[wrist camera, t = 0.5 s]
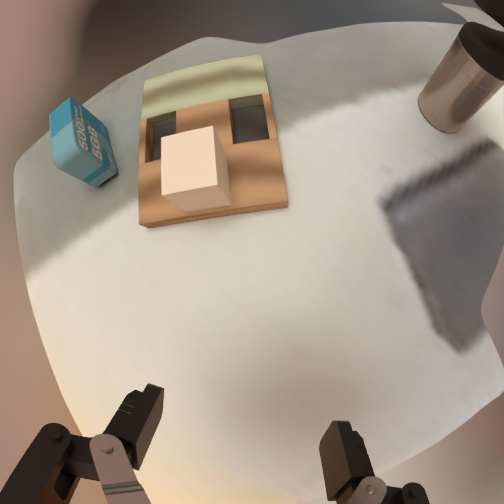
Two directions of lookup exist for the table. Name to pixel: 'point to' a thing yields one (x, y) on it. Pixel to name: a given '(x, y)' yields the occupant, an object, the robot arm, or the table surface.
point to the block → (195, 170)
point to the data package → (81, 144)
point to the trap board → (227, 129)
